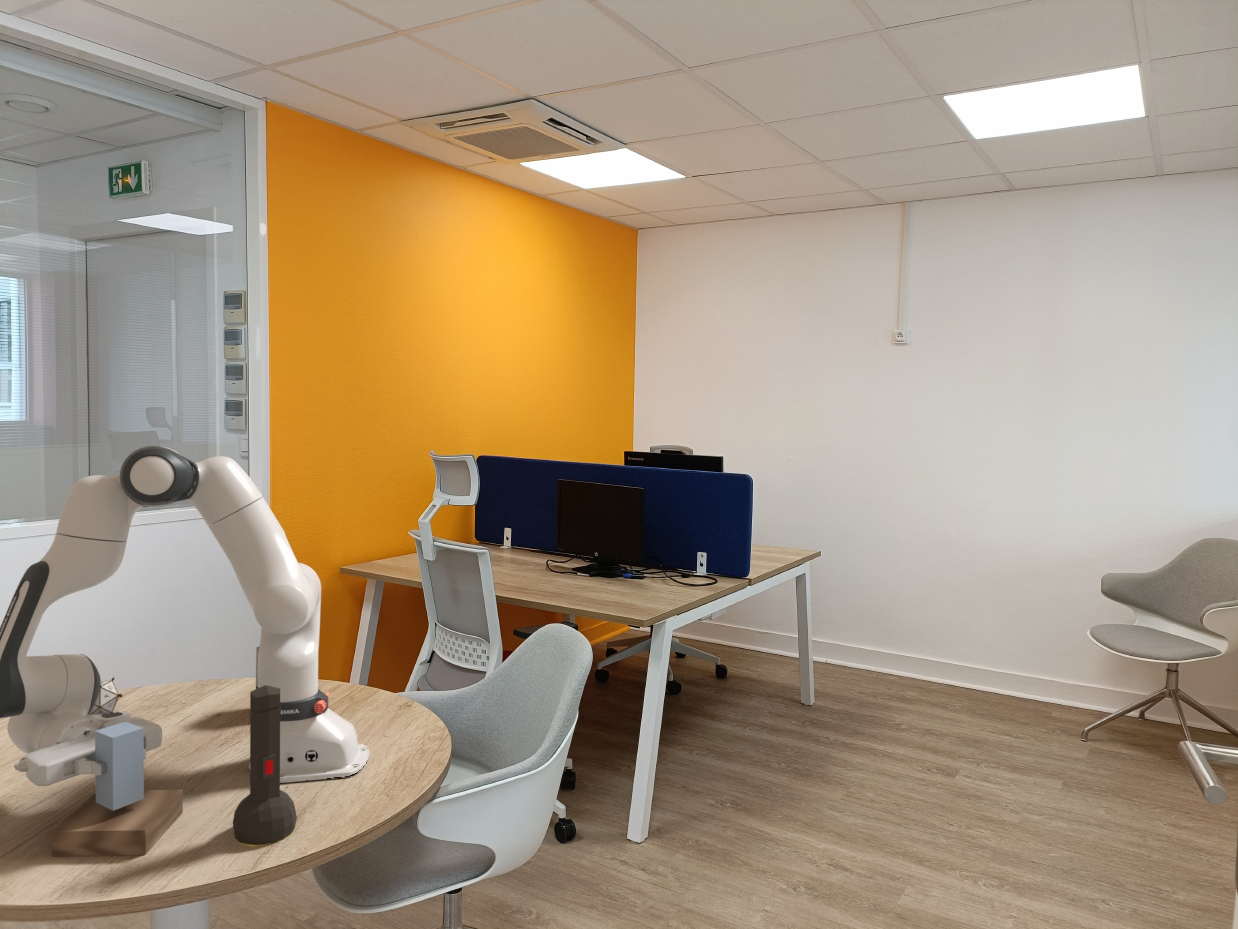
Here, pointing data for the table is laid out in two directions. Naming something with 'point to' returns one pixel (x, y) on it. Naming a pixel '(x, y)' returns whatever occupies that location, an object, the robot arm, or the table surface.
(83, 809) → the block
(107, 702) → the game die
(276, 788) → the flashlight
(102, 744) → the slate block
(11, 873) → the table surface
